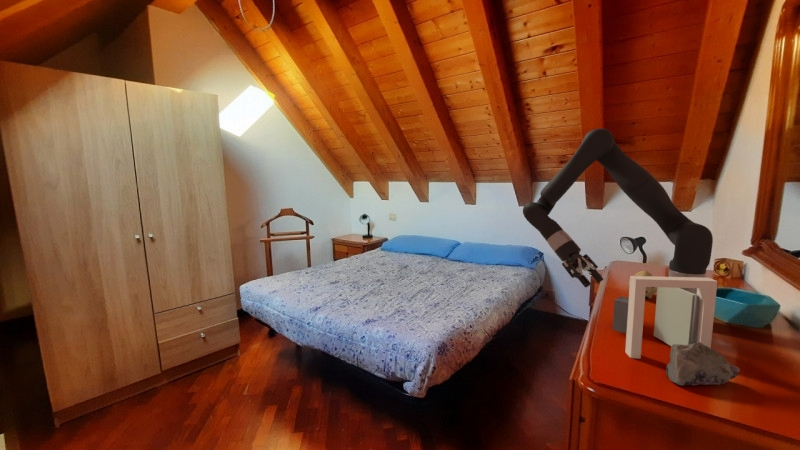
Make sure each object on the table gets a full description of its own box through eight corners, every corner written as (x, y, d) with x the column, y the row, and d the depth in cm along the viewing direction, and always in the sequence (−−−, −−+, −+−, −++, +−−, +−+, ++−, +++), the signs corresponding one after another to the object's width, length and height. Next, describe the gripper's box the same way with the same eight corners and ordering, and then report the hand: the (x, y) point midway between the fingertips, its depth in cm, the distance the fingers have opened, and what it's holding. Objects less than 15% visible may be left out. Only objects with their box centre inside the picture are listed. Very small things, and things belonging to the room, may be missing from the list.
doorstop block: (612, 329, 106) (614, 299, 104) (619, 325, 109) (621, 296, 107) (628, 334, 102) (630, 303, 101) (635, 330, 105) (637, 300, 104)
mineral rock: (736, 382, 77) (741, 342, 76) (743, 406, 69) (748, 362, 68) (666, 364, 86) (669, 327, 84) (664, 383, 78) (668, 343, 76)
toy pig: (626, 299, 131) (628, 273, 130) (628, 290, 141) (629, 266, 140) (657, 304, 126) (660, 277, 124) (657, 294, 135) (659, 269, 134)
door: (700, 357, 87) (706, 296, 85) (690, 358, 87) (696, 296, 85) (662, 335, 100) (666, 281, 98) (653, 335, 100) (657, 281, 98)
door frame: (700, 356, 89) (708, 277, 86) (709, 362, 86) (717, 281, 83) (625, 352, 92) (630, 275, 89) (630, 357, 89) (636, 279, 86)
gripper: (559, 241, 113) (593, 281, 105) (581, 236, 121) (613, 273, 113) (545, 254, 118) (575, 293, 110) (566, 248, 126) (596, 285, 118)
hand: (594, 283), depth 111 cm, fingers open, 8 cm apart
